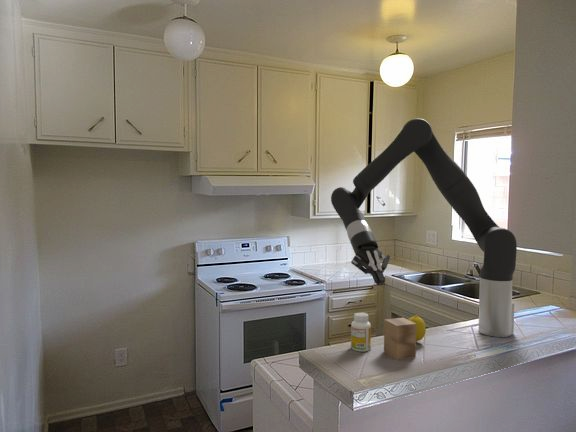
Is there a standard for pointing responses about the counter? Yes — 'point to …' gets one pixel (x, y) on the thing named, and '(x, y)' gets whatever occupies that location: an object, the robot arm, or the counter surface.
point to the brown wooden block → (400, 338)
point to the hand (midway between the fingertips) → (381, 283)
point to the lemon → (419, 327)
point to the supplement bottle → (360, 333)
